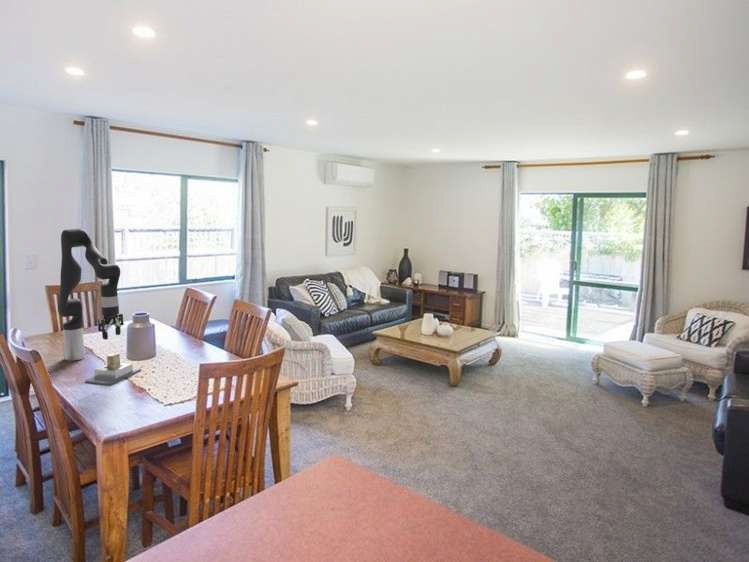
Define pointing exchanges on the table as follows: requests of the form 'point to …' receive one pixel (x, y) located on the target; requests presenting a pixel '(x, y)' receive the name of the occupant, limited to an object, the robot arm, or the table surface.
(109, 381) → the square peg board
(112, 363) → the wooden square peg
